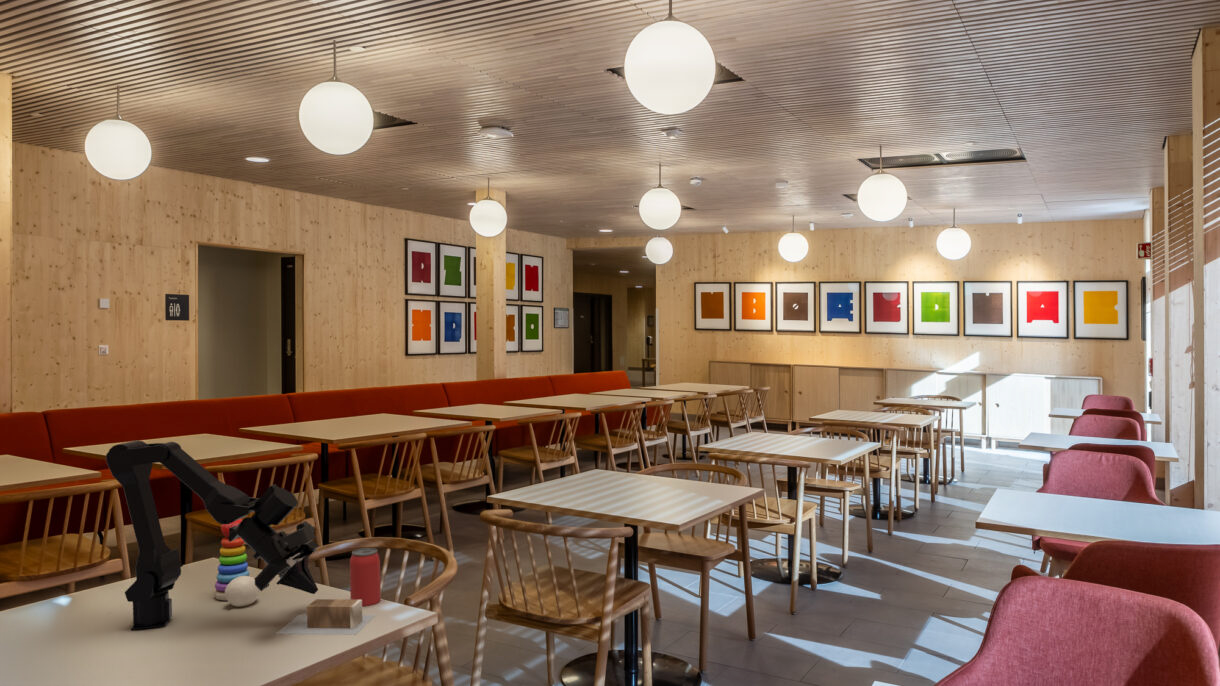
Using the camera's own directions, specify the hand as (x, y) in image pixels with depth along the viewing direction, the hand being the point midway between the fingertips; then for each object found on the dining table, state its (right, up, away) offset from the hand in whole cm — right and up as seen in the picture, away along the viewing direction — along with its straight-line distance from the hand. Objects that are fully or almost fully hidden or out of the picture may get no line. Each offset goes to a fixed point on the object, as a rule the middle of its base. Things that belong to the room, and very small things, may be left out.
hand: (316, 592), depth 170 cm
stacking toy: (-27, -7, +20) cm, 35 cm away
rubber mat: (+2, -7, 0) cm, 8 cm away
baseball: (-22, -8, +13) cm, 27 cm away
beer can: (+6, -7, +14) cm, 17 cm away
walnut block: (-1, -5, 0) cm, 5 cm away
